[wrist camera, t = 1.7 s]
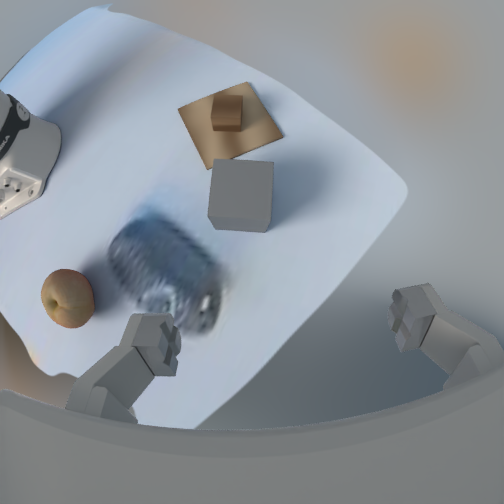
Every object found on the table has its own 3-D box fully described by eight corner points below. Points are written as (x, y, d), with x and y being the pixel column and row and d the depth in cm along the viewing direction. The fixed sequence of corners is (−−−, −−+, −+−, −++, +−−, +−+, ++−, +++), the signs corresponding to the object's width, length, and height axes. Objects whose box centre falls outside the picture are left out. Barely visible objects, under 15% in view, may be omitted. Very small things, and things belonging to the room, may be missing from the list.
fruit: (60, 314, 35) (29, 320, 27) (67, 265, 36) (36, 261, 28) (100, 330, 35) (71, 340, 27) (108, 277, 36) (79, 276, 28)
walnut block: (240, 132, 38) (240, 117, 34) (213, 131, 38) (210, 116, 34) (242, 110, 38) (242, 95, 34) (216, 109, 38) (214, 94, 34)
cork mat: (207, 170, 38) (206, 169, 37) (178, 110, 38) (177, 109, 38) (282, 137, 38) (283, 136, 38) (247, 83, 39) (247, 81, 39)
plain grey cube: (265, 232, 37) (270, 220, 29) (215, 229, 37) (207, 216, 29) (267, 185, 38) (273, 162, 30) (219, 182, 37) (213, 158, 29)
